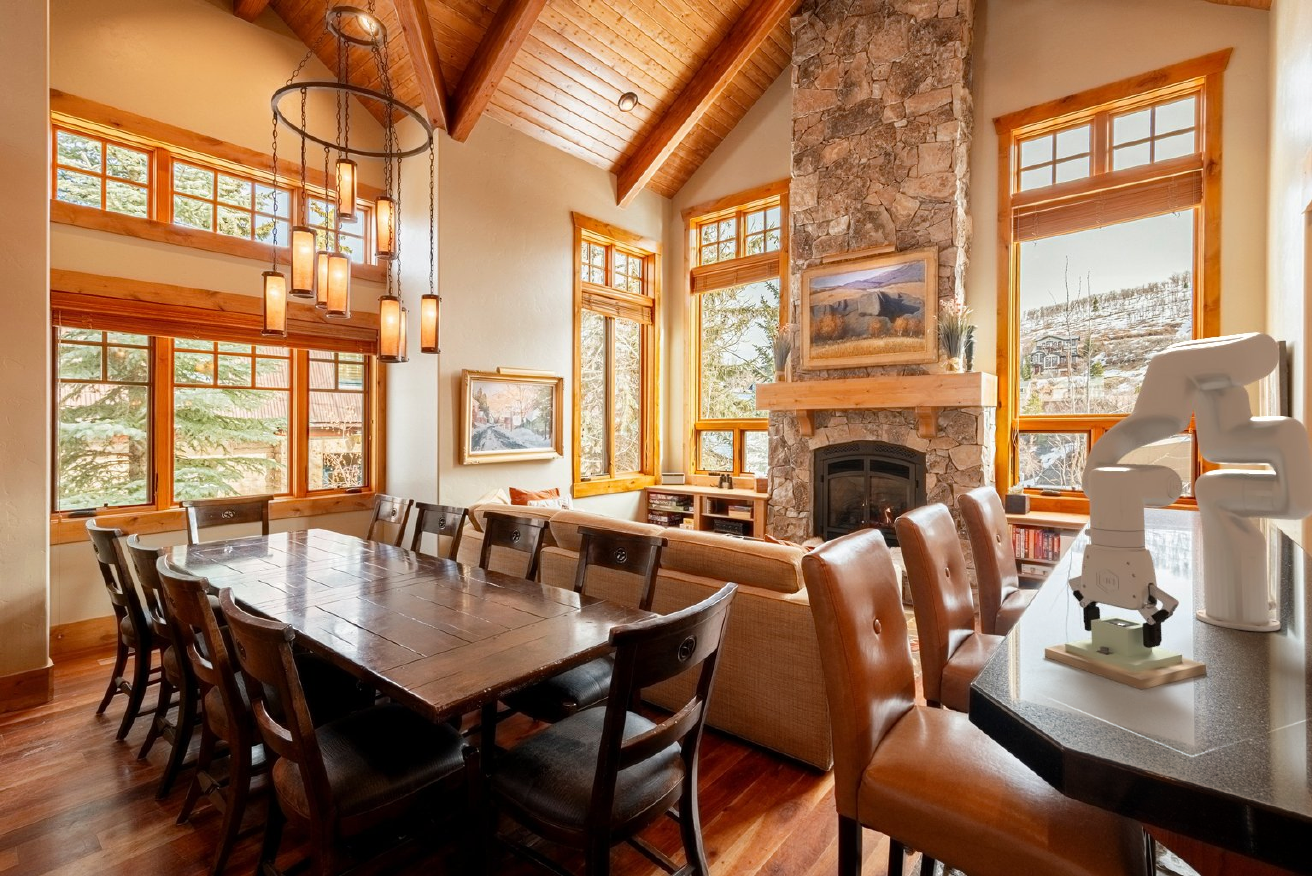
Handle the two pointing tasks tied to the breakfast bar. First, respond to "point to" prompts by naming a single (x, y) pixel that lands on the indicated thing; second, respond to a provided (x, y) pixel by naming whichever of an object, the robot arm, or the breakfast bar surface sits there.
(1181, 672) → the base
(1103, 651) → the pins
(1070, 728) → the breakfast bar surface
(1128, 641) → the flange
